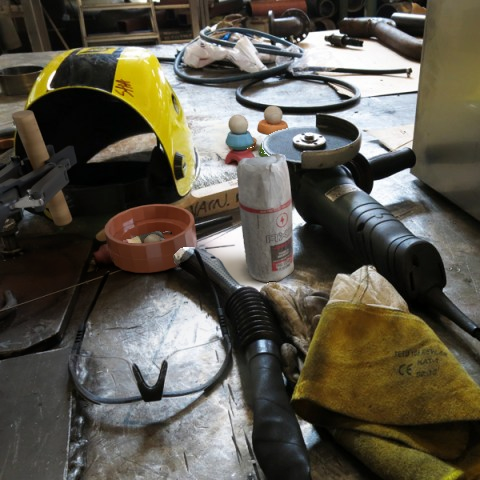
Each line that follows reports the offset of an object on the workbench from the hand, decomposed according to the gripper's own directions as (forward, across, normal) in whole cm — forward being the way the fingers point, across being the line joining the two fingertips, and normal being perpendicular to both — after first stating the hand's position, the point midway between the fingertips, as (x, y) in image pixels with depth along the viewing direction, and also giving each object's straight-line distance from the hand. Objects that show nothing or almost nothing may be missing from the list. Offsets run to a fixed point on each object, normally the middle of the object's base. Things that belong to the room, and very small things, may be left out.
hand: (62, 153), depth 75 cm
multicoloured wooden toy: (+49, +18, -18) cm, 55 cm away
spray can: (-3, +33, -18) cm, 37 cm away
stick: (-4, 0, -10) cm, 11 cm away
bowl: (0, +12, -18) cm, 21 cm away
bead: (0, +12, -15) cm, 20 cm away
